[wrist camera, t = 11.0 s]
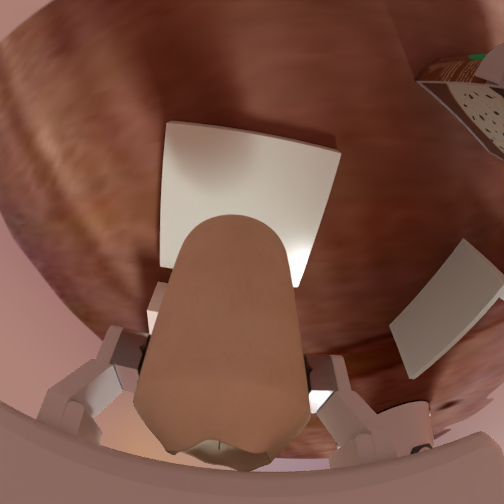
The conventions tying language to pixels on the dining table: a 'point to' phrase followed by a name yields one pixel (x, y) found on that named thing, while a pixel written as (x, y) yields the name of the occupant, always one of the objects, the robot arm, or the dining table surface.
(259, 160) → the cream tile
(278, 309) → the candle
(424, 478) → the robot arm
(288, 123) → the dining table surface
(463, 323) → the l-shaped corner panel
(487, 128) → the food container
